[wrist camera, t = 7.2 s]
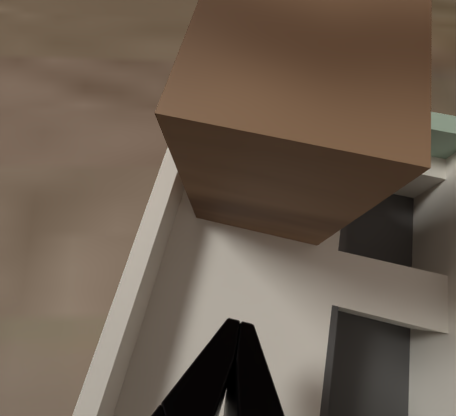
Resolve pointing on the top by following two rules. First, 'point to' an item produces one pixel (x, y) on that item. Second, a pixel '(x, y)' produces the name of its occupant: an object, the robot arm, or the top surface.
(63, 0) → the top surface
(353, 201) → the walnut block
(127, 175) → the top surface
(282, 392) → the box
